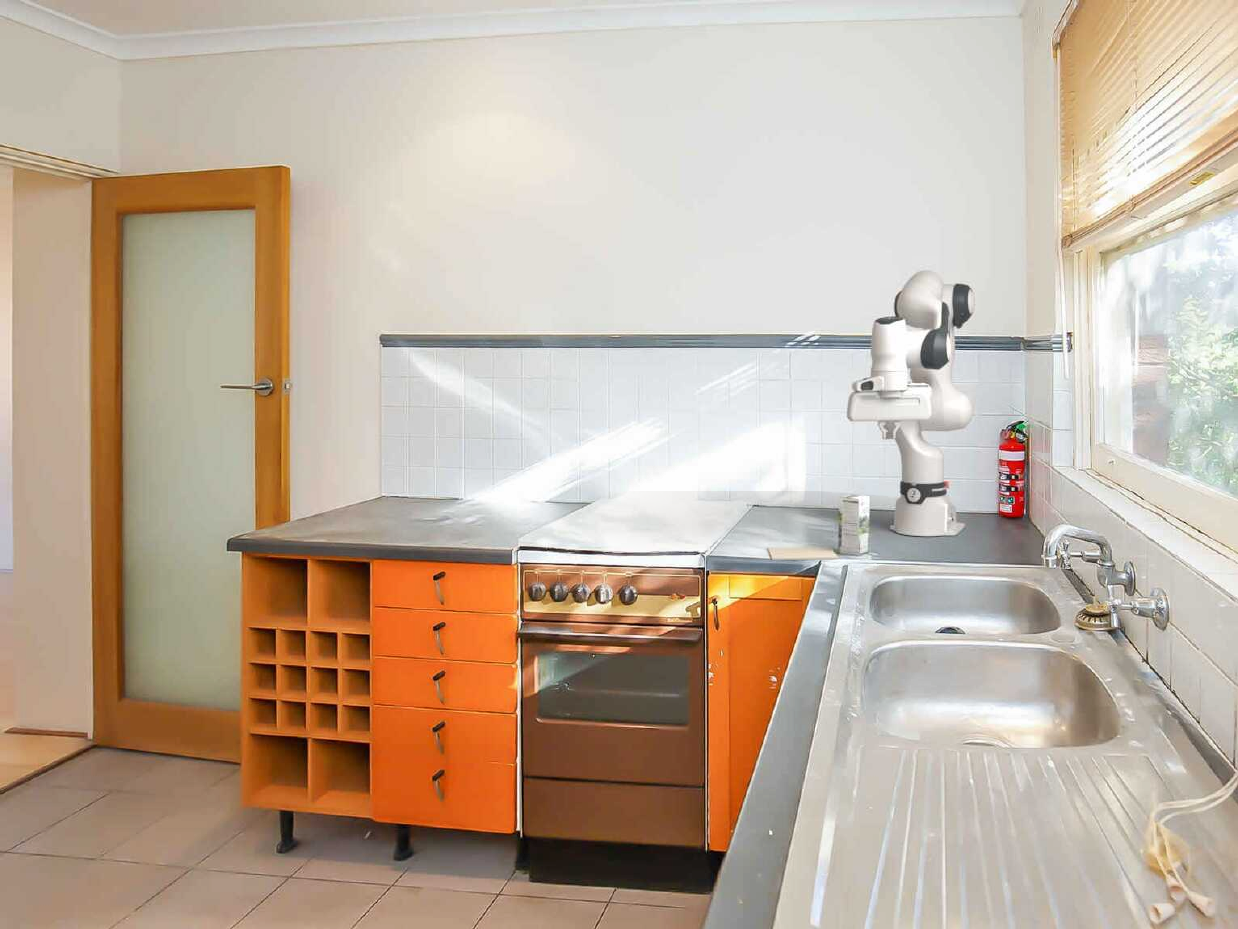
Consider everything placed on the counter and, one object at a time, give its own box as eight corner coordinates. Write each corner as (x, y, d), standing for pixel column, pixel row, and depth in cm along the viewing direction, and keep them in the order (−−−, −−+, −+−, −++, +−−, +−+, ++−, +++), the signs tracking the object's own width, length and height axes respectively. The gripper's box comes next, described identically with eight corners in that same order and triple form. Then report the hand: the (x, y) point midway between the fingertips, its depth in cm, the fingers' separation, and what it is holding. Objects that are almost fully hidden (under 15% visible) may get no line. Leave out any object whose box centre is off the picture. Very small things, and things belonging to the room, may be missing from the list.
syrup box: (848, 550, 270) (848, 493, 269) (869, 552, 267) (870, 495, 265) (837, 554, 266) (837, 496, 264) (859, 556, 262) (859, 498, 261)
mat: (830, 548, 274) (830, 546, 273) (838, 559, 260) (838, 557, 260) (767, 548, 274) (767, 547, 274) (772, 559, 261) (772, 558, 261)
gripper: (928, 381, 263) (928, 437, 265) (845, 383, 265) (845, 438, 266) (935, 382, 257) (934, 439, 259) (849, 384, 258) (849, 441, 260)
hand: (888, 439), depth 263 cm, fingers closed
